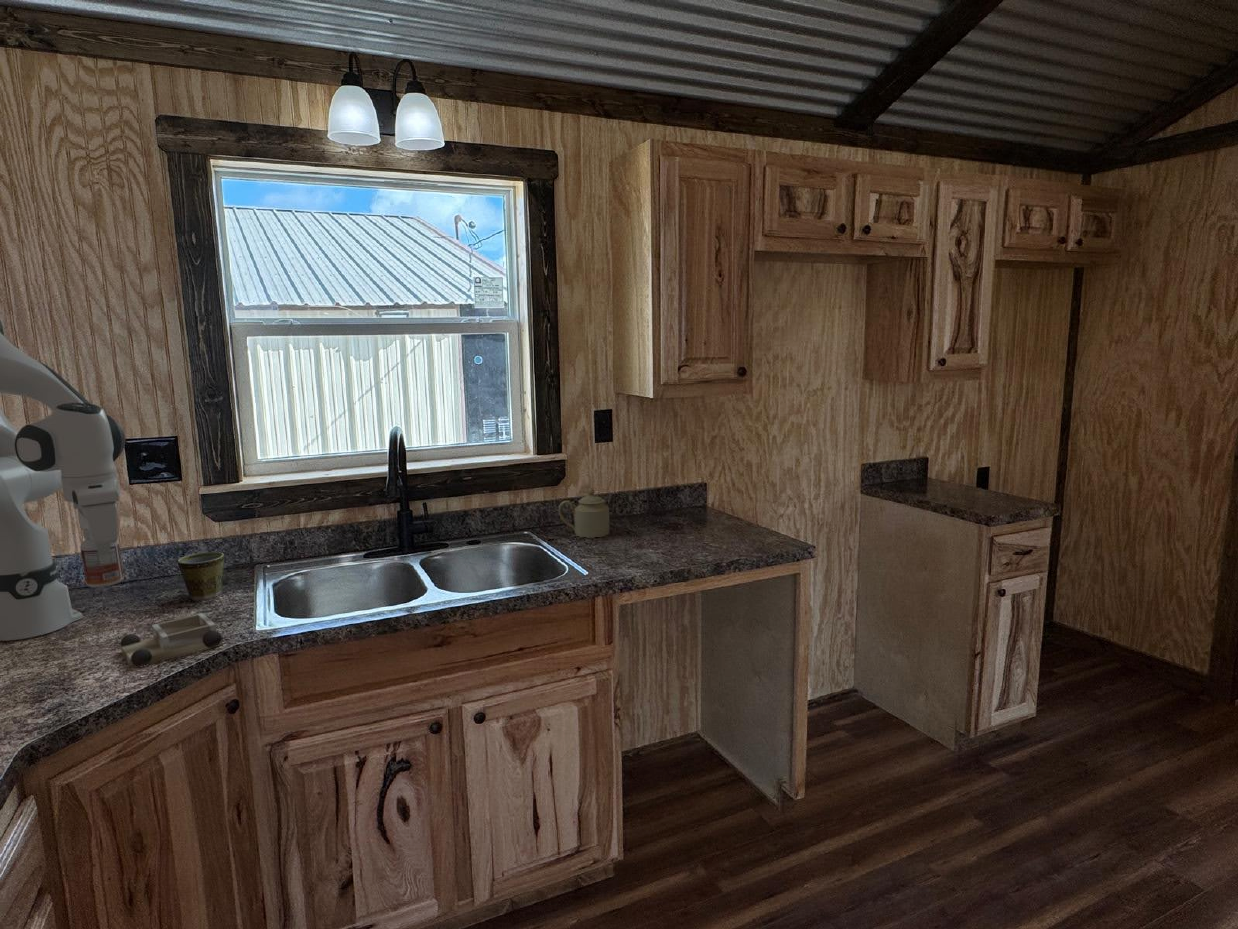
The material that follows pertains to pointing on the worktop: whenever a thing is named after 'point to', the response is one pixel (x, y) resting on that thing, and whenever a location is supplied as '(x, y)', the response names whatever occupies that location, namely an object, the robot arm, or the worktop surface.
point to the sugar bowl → (589, 516)
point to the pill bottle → (101, 572)
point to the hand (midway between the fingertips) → (101, 558)
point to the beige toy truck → (171, 640)
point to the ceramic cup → (202, 574)
